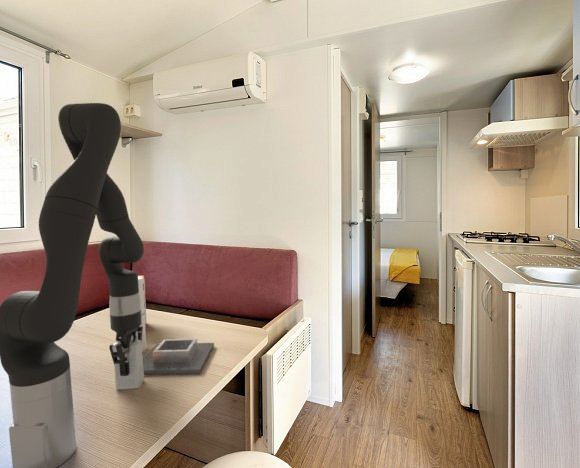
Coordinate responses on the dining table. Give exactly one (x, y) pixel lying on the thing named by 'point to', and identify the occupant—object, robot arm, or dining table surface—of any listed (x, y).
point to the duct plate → (177, 357)
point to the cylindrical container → (142, 312)
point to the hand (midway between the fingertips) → (129, 370)
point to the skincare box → (131, 369)
